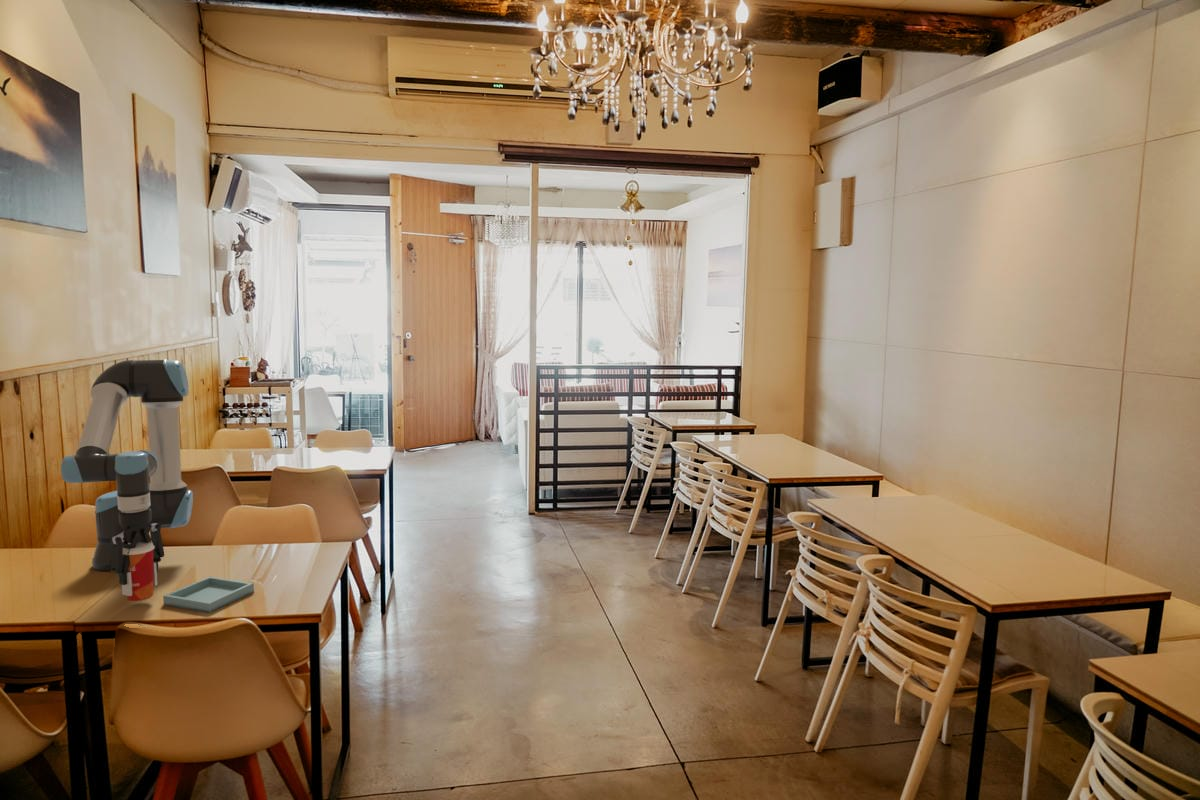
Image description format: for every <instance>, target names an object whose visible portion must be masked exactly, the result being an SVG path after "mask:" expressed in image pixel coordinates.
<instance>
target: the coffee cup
mask: <svg viewBox="0 0 1200 800" xmlns="http://www.w3.org/2000/svg"><path fill="white" fill-rule="evenodd" d="M128 544H131V543H128ZM154 548H155V546H154V545H153V543H152V541H151V542H149V543H144V542H138V543H137V544H136V547H135V548H131V549H130V551H129V549H126V548H123V555H129V558H130V565H129V569H128V572H131V580H132V596H127V600H129V602H141V601H145V600H148V599H150V598H152V597H153V596H154V585H153V549H154ZM128 552H129V554H127V553H128Z"/></svg>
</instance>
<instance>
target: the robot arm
mask: <svg viewBox="0 0 1200 800" xmlns="http://www.w3.org/2000/svg"><path fill="white" fill-rule="evenodd" d="M189 390H190V389H189V381H188V376H187V372H186V369H185V366H184V364H183V363H182V362H181V361H180V360H177V359H176V360H174V359H149V360H147V359H145V360H141V359H138V360H134V359H132V360H131V359H130V360H129V359H128V360H126V359H125V360H122V361H119V362H116V363H115V364H111V366H109V367H108V368H106V369H104V370H103V371H102V372H101V373H100V374H99V376H98V377H97V378H96V379H95V381H93V384H92V386H91V388H90V393H89V395H90V398H91V399H92V400H91V403H90V407H89V410H88V413H87V416H86V420H85V422H84V426H83V429H82V432H81V435H80V439H79V441H78V445H77V448H76V452H75V455H74V454H72V455H66V456H64V458H63V459H62V460H61V465H60V473H61V477H62V480H63V481H64V482H66V483H67V484H77V483H78V484H84V483H98V482H101V483H102V482H115V483H116V490H113V491H110V492H107V493H104V494H102V495H100V496H98V497H97V498H96V499H95V503H94V504H95V505H94V506H95V507H94V509H95V510H94V514H95V525H96V526H95V527H96V538H97V541H96V543H97V544H96V547H95V550H94V555H93V558H92V559H91V563H92V564H91V566H92V569H93V570H95V571H101V572H111V573H113V574H114V573H115V574H118V581H119V585H121V593H122V596H127V597H128V596H132V580H131V572H128V569H129V565H130V558H129V555H123V548H126V549H129V551H130V549H131V548H135V547H136V544H137V543H138V542H144V543H149V542H152V543H153V545H154V546H155V548H154V549H153V586H157V585H158V572H159V562H161V561H162V558H164V557H165V549H164V545H163V540H162V533H161V529H174V528H180V527H181V528H182V527H184V526H187V525H188V523H189V521H190V520H191V516H192V510H193V504H194V496H193V495H194V492H193V491H192V490H191V489H188V485H187V483H185V482H184V480H182V471H181V470H182V467H181V445H180V443H181V442H180V419H179V417H180V416H179V407H180V406H181V404H183V402H184V398H185V397H186V396H188V395H189ZM128 398H140V400H141V401H140V402H141V404H142V405H144V406H145V407H146V410H147V411H146V413H147V429H148V430H147V431H148V435H147V436H148V449H147V450H146V449H140V450H137V451H136V450H135V451H133V450H132V451H125V452H122V453H121V452H120V453H110V448H111V445H112V441H113V437H114V434H115V430H116V426H117V423H118V419H119V415H120V412H121V407H122V405H124V404H125V403H126V402H127V401H128ZM128 543H131V544H128ZM127 554H129V552H128V553H127Z"/></svg>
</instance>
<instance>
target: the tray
mask: <svg viewBox="0 0 1200 800" xmlns="http://www.w3.org/2000/svg"><path fill="white" fill-rule="evenodd" d="M254 584H255V583H254V582H247V581H242V580H237V579H236V580H234V579H230V578H229V579H227V578H224V577H223V578H222V577H217V576H208V577H205V578H202V579H201V580H198V581H196V582H193V583H190V584H189V585H186V586H184V587H181V588H179V589H177V590H174V591H171V592H170V593H167V594H165V595H163V606H167V607H168V606H169V607H173V608H179V609H180V608H181V609H186V610H190V611H191V610H192V611H197V612H203V613H208V614H210V613H212V612H214V611H217V610H219V609H221V608H223V607H225V606H228V605H229V604H232V603H233V602H235V601H238V600H239V599H242V598H244V597H246V596H249V595H251V594H252V593H253V594H254V592H255V585H254Z"/></svg>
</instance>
